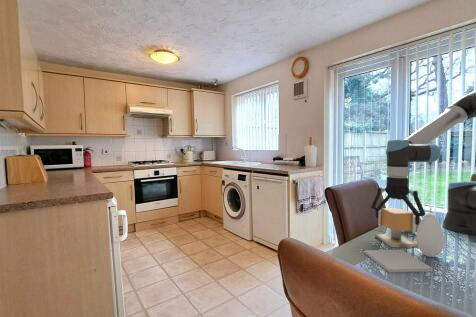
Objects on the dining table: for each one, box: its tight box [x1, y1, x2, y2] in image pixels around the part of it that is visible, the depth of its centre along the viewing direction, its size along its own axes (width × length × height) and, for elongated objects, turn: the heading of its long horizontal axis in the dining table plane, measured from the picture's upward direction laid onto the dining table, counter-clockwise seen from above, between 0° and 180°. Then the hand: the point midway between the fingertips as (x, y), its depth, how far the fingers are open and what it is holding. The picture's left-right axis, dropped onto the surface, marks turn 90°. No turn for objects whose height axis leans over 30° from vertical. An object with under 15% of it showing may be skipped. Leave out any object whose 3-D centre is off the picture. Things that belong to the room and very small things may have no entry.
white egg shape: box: [415, 206, 445, 258], centre depth 86 cm, size 8×8×18 cm
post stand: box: [374, 229, 419, 248], centre depth 99 cm, size 11×11×11 cm
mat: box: [364, 249, 434, 273], centre depth 82 cm, size 14×14×1 cm
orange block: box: [380, 207, 413, 232], centre depth 99 cm, size 8×8×7 cm
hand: (396, 228), depth 99 cm, fingers closed on orange block, 11 cm apart
